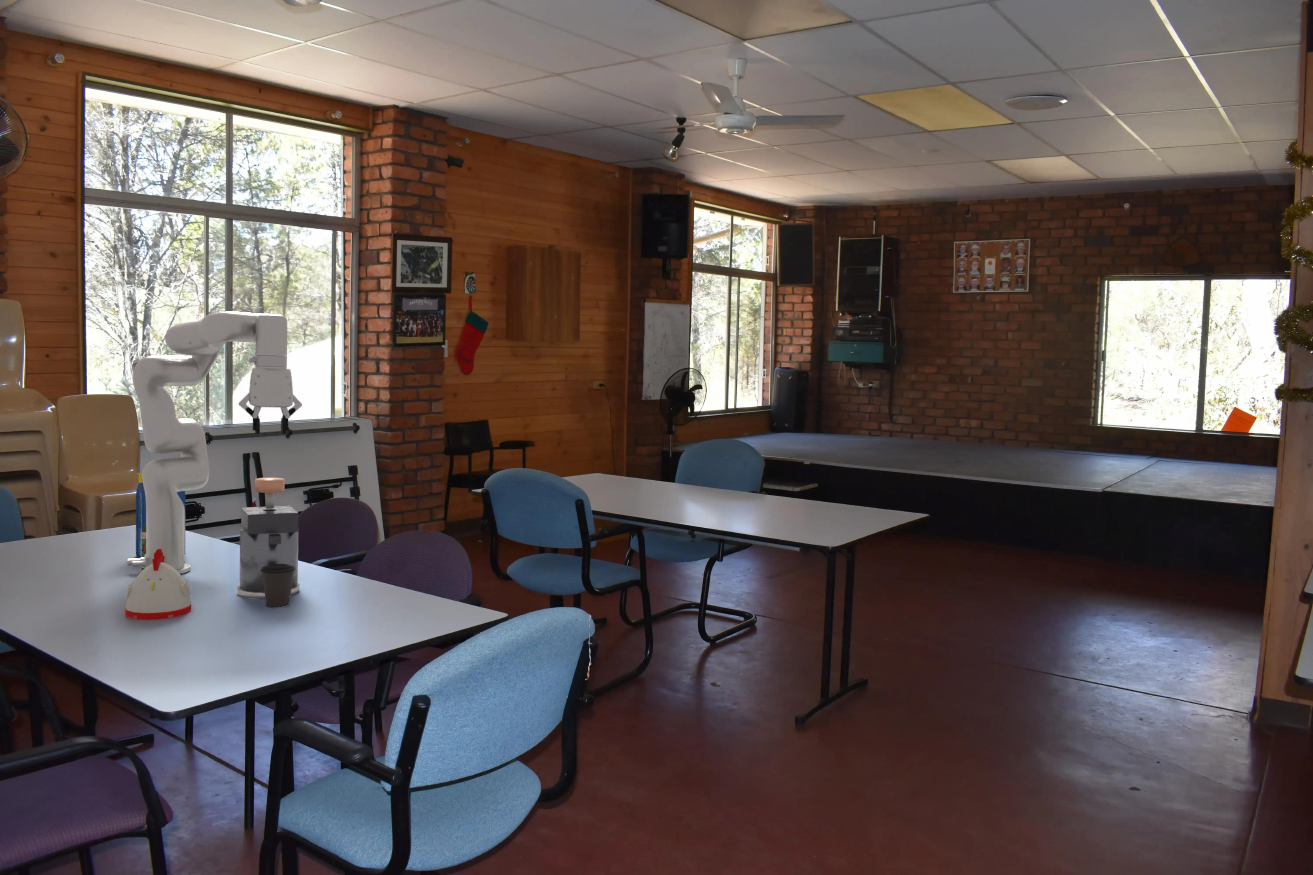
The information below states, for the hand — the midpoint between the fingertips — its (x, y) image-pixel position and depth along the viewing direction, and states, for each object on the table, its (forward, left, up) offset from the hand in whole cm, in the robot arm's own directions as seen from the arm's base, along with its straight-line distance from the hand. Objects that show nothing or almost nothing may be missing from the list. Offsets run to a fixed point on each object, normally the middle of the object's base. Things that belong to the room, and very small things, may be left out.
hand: (270, 432), depth 246 cm
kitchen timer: (-26, -11, -42) cm, 50 cm away
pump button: (0, 0, -20) cm, 20 cm away
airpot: (0, -2, -42) cm, 42 cm away
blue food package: (-22, +57, -42) cm, 74 cm away
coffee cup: (0, -14, -42) cm, 44 cm away
